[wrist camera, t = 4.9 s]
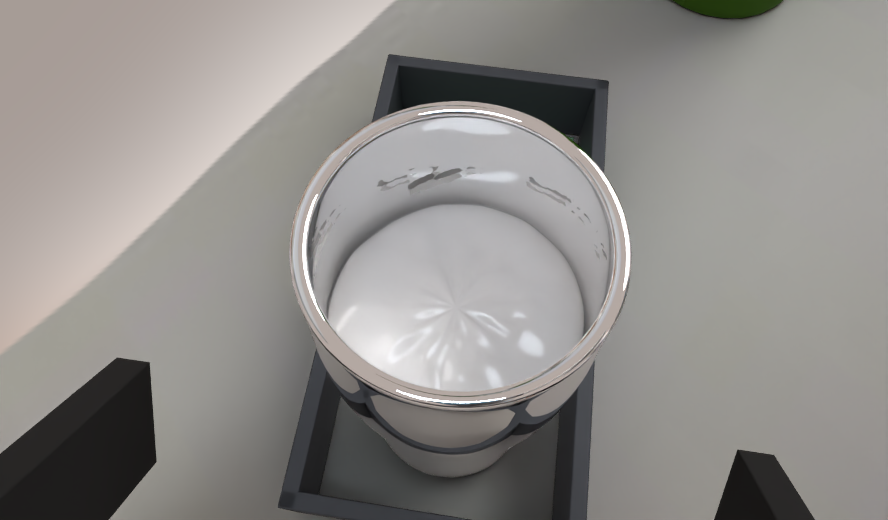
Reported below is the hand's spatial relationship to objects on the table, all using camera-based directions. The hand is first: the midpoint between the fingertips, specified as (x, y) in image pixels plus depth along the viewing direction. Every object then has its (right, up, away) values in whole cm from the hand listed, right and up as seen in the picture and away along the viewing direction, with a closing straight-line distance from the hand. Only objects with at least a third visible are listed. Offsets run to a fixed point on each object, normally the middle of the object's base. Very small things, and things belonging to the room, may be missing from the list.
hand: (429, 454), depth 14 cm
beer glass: (+1, -2, +12) cm, 12 cm away
